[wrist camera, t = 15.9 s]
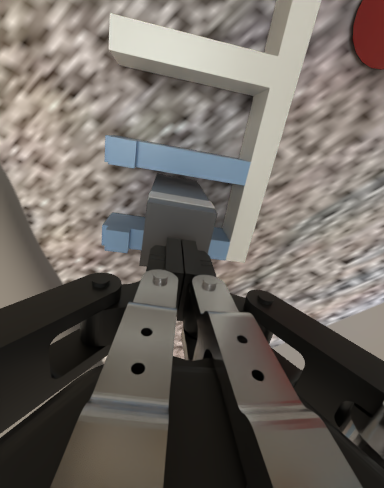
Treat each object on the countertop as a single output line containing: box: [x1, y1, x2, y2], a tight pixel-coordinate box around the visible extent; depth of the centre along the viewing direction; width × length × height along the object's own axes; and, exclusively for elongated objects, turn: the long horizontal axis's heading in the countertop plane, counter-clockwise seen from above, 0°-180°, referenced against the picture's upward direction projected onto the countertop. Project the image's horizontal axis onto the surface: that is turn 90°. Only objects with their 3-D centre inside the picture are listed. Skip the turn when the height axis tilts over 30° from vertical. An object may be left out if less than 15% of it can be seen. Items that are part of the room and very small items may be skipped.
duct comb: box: [102, 0, 321, 263], centre depth 20 cm, size 14×24×5 cm, turn 170°
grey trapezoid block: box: [139, 173, 217, 266], centre depth 20 cm, size 4×4×12 cm
